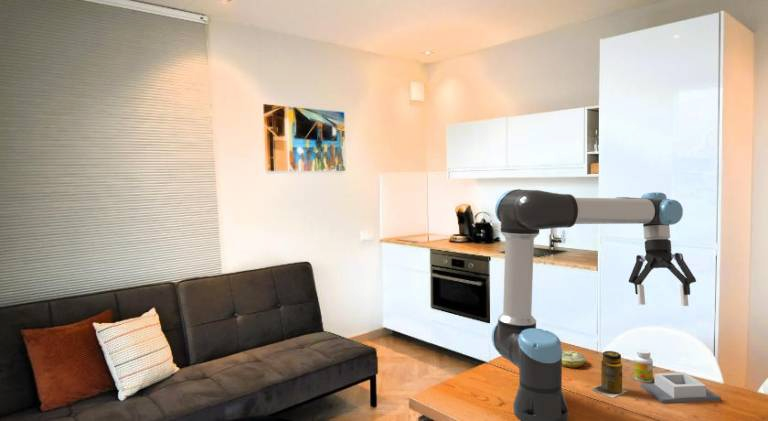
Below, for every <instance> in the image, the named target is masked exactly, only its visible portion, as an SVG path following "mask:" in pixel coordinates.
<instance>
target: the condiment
mask: <svg viewBox="0 0 768 421" xmlns="http://www.w3.org/2000/svg"><path fill="white" fill-rule="evenodd" d="M600 365H601V366H600V367H601V368H600V371H601V373H600V374H601V376H600V378H601V379H600V383H601V384H600V385H597V386H596V387H593V388H591V390H592V391H594V392H597V393H599V394H601V395H603V396H606V397H609V398H612V399H613V398H616V397H617V396H620V395H623V394H625V393H626V392H628V391H629V390H627V389H624V388H623V363H622V355H621V353H620V352H617V351H614V350H613V351H612V350H606V351H604V352H602V359H601V363H600Z"/></svg>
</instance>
